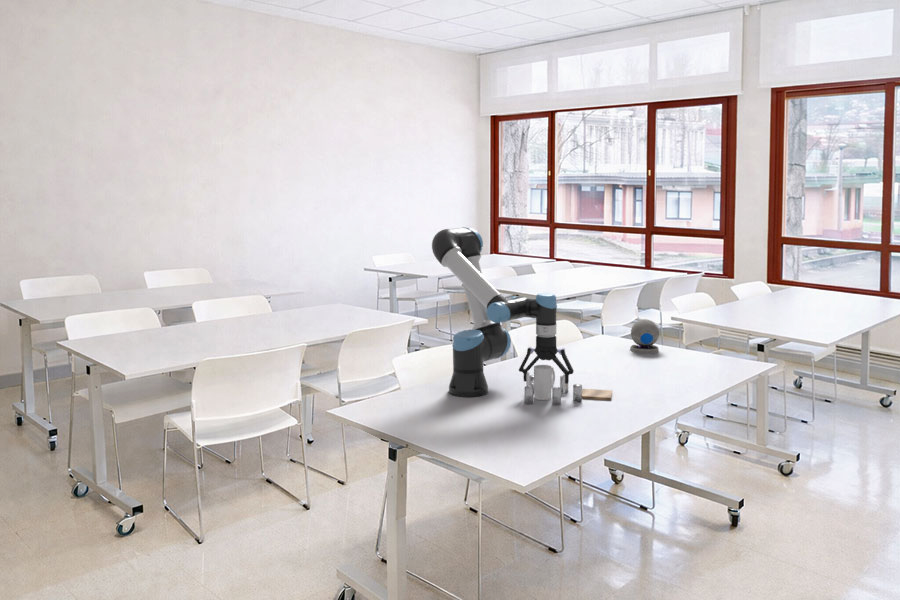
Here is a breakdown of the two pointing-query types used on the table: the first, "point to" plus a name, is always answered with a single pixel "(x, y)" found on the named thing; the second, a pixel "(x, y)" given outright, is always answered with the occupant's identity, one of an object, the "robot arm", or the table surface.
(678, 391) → the table surface
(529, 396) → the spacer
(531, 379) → the cylinder
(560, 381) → the cylinder
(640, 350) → the webcam
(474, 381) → the robot arm
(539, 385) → the mug
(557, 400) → the cylinder
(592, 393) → the trivet
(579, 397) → the cylinder
